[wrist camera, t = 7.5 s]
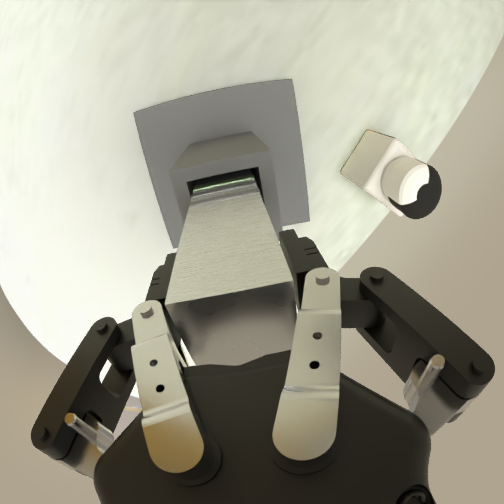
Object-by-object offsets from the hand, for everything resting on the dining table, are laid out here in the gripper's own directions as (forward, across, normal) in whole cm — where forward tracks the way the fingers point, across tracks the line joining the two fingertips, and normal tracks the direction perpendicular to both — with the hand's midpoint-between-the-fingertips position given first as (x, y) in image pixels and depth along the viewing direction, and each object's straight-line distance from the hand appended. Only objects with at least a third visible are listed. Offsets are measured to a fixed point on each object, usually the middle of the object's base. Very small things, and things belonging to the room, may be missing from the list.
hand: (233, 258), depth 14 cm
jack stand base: (+21, 0, 0) cm, 21 cm away
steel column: (+13, 0, 0) cm, 13 cm away
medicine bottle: (+22, -19, +3) cm, 29 cm away
